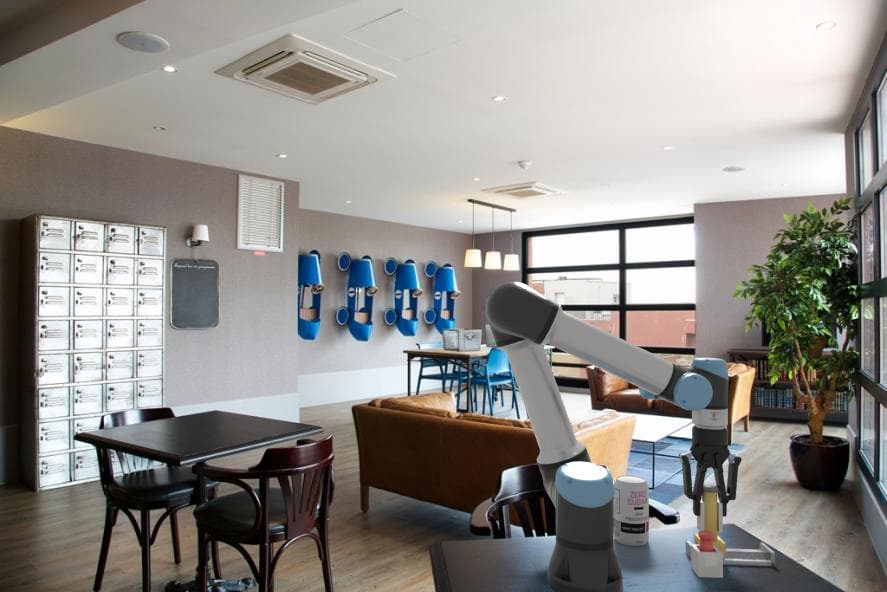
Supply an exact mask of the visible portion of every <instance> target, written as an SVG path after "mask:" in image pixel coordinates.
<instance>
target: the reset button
mask: <svg viewBox="0 0 887 592" xmlns="http://www.w3.org/2000/svg"><path fill="white" fill-rule="evenodd" d="M697 534H698V537H699V538H700V551H701V552H713V539H714V538H715V537H714V533H712V532H709V531H700V530H699V531H698V533H697Z"/></svg>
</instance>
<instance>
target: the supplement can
mask: <svg viewBox="0 0 887 592" xmlns="http://www.w3.org/2000/svg"><path fill="white" fill-rule="evenodd" d="M613 485H614V537H613V539H615V541H616V542H618V543H619V542H620V545H621V544H622V545H624V546H630V547H641V546H644V545H646V544H647V543H648V542H649V541H650V521H649V519H650V513H649V512H650V510H649V509H650V508H649V507H650V499H649V498H650V497H649V496H650V493H649V491H650V489H649V484H648V483H647V479H646V478H644V477H642V476H638V475H632V474H631V475H629V474H628V475H627V474H626V475H618V476H616V477H615V480H614V481H613Z"/></svg>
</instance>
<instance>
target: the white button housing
mask: <svg viewBox="0 0 887 592" xmlns="http://www.w3.org/2000/svg"><path fill="white" fill-rule="evenodd" d="M690 568H691V570H692V571H693V572H694V573H695V574H696V576H697V577H698V578H713V579H714V578H715V579H716V578H717V579H719V578H720V579H721V578H724V566H723V554H722V552H721V551H720V550H719V549H718V548H717V547H716V546H715V545H713V552H701V551H700V545H699V544H695V543H692V544H691V559H690Z"/></svg>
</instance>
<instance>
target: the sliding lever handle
mask: <svg viewBox="0 0 887 592" xmlns="http://www.w3.org/2000/svg"><path fill="white" fill-rule="evenodd" d="M718 491H719V487H718V486H716V484H712V483H711V484H710V483H704V486H703V491H702V497H701V500H702V501H703V502H704V531H709V532H712V533H714V537H715V538H714V539H713V545H715V546H716V547H717V548H718V549H719V550H720V551H721V552H722V554H723V557H725V553H726V549H727V543H726V542H725V541H724V540H723V539H722V538H721V537H720V536H719V535H718V534H719V532H718V531H717V500H718V493H717V492H718ZM694 544H699V545H700V538H699V537H698V533H694Z"/></svg>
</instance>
